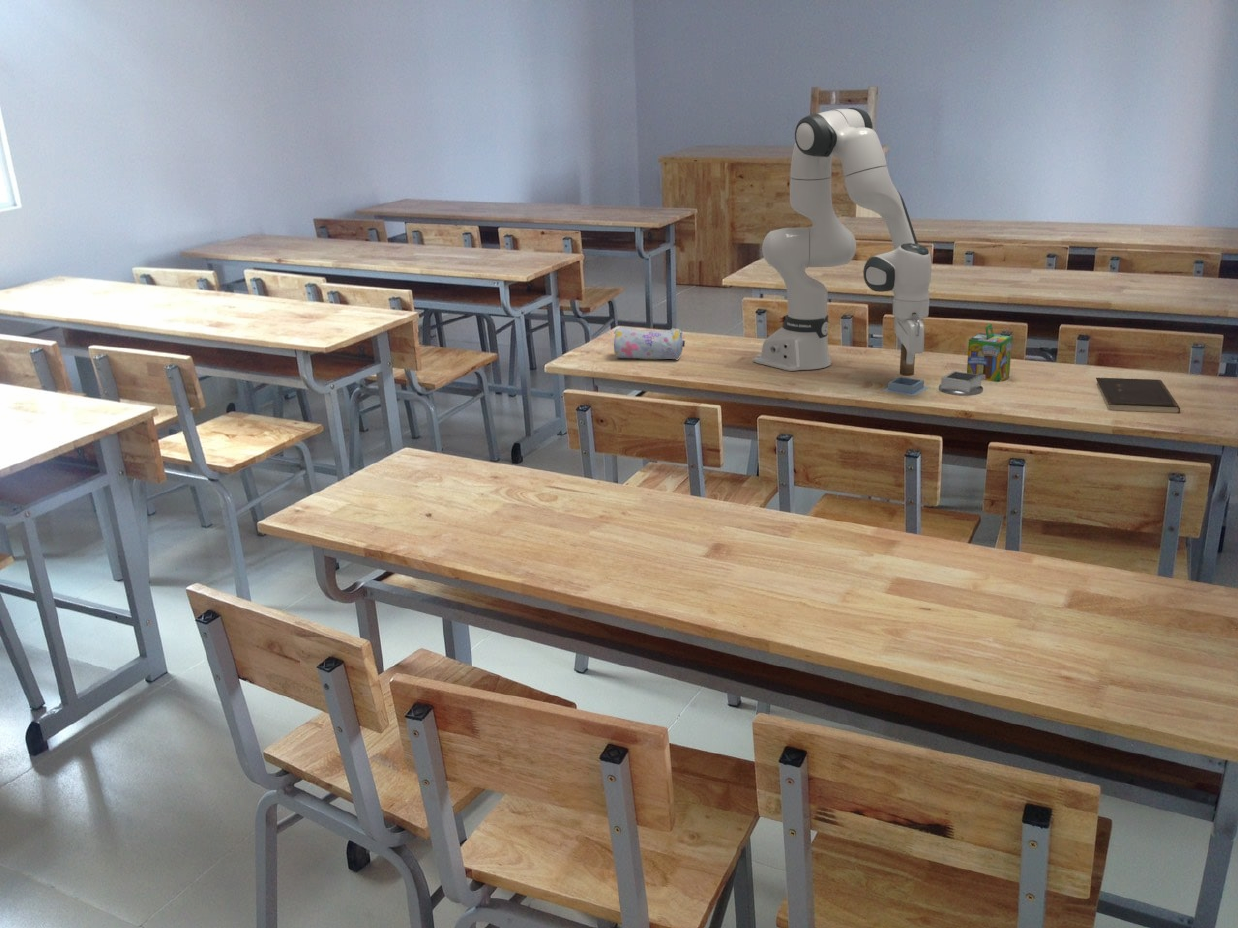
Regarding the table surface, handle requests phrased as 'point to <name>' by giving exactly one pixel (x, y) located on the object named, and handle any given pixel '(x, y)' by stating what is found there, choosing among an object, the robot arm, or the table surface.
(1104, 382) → the hardcover book
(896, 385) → the stand
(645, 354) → the pencil case
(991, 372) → the chalk box
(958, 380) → the hub
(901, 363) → the peg
